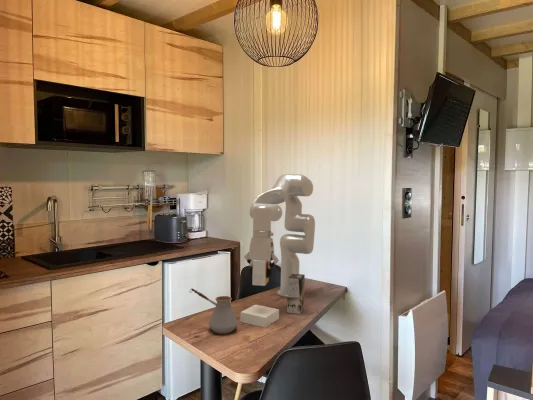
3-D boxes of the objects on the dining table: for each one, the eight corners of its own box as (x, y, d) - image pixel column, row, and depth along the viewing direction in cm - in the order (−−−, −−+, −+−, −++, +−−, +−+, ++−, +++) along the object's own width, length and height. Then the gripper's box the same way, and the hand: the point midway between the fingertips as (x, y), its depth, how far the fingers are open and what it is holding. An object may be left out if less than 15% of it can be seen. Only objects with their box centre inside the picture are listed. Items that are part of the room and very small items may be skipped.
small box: (265, 286, 165) (265, 261, 164) (252, 285, 166) (252, 260, 166) (268, 281, 173) (269, 257, 172) (256, 280, 174) (256, 256, 173)
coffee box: (300, 314, 179) (301, 279, 178) (286, 312, 180) (287, 277, 179) (304, 308, 188) (305, 274, 186) (290, 306, 189) (291, 273, 188)
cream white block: (255, 314, 179) (255, 304, 179) (278, 319, 173) (279, 309, 173) (240, 322, 168) (240, 312, 168) (265, 328, 163) (265, 317, 162)
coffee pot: (242, 327, 162) (243, 291, 161) (229, 337, 152) (229, 299, 151) (197, 319, 170) (197, 284, 169) (181, 328, 160) (182, 291, 159)
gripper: (284, 235, 168) (283, 277, 169) (247, 231, 175) (247, 271, 177) (276, 237, 161) (275, 281, 162) (239, 233, 169) (238, 275, 170)
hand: (260, 275), depth 169 cm, fingers closed on small box, 6 cm apart
